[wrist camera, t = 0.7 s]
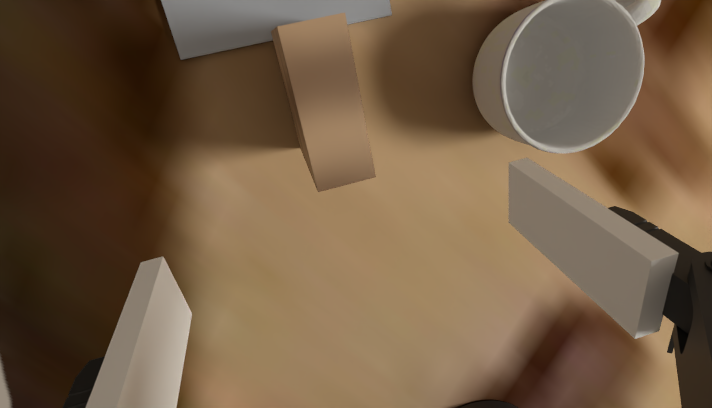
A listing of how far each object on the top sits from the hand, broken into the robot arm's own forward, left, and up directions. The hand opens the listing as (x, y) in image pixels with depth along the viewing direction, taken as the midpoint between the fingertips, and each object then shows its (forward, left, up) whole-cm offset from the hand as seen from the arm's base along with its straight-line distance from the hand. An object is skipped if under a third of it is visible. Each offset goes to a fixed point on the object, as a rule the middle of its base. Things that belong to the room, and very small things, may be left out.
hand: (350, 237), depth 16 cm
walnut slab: (+4, -1, -20) cm, 20 cm away
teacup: (+2, -20, -20) cm, 29 cm away
